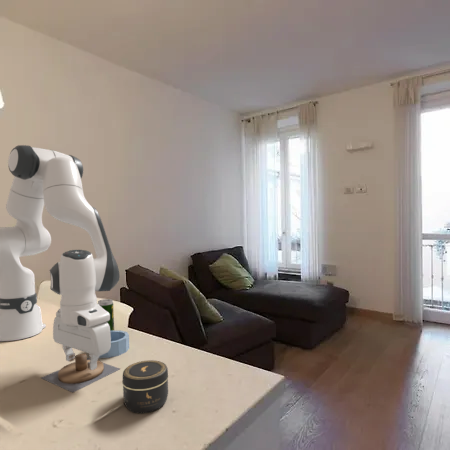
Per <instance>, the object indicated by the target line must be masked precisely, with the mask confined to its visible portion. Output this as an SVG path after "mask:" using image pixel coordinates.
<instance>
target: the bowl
mask: <svg viewBox="0 0 450 450" xmlns="http://www.w3.org/2000/svg"><path fill="white" fill-rule="evenodd" d="M110 334H111V347H110V350H109V351H108V352H107V353H105V354H103V355H101V356H99V358H98V359H102V358H103V359H105V358H106V359H107V358H114V357H118V356H121V355H123V354H125V353H127V352H128V351H129V349H130V334H129V332H128V331H124V330H114V331H110Z"/></svg>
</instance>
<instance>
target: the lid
mask: <svg viewBox="0 0 450 450" xmlns="http://www.w3.org/2000/svg"><path fill="white" fill-rule="evenodd" d="M87 354H88V353H85V352H82V353H78V354H75V360H74V362H71V363H69V364H66V365H64V366H63V367H61V368H60V369H59V372H58V379H59V381H61V382H63V383H68V384H74V383H82V382H86V381H89V380H92V379H94V378H96V377H98V376H99V375H101V374H102V372H103V371H104V365H103V363H104V362H102V361H100V360H99V359H98V360H97V368H96V369H94V370H91V369H88V365H87V362H90V360H87V358H88V356H87Z"/></svg>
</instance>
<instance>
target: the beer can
mask: <svg viewBox="0 0 450 450" xmlns="http://www.w3.org/2000/svg"><path fill="white" fill-rule="evenodd" d="M97 304H99V305H100V306H101V307H102V308H103V309H104V310H106V311H107V312H108V313H109V314H110V320H109V321H107V323H108V324H109V326H110V331H115V316H114V315H115V314H114V313H115V311H114V301H113V298H112V299H111V298H104V299H100V300H97Z"/></svg>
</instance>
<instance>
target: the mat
mask: <svg viewBox="0 0 450 450" xmlns="http://www.w3.org/2000/svg"><path fill="white" fill-rule="evenodd" d="M90 359H91V357H87V360H90ZM102 363H103V365H104V371H103V372H102V374H101V375H99V376H98V377H96V378H94V379H92V380H89V381H86V382H82V383H74V384H68V383H63V382H61V381H59V379H58V372H59V370H60V369H59V370H56V371H54V372H51V373H48V374H45V375H43V376H41V377H40V379H42V380H44V381H47V382H49V383H51V384H53V385H55V386H56V387H58V388H59V387H60V388H61V389H64V390H66V391H68V392H70V393H75V392H77V391H79V390H81V389H83V388H85V387H87V386H90V385H91V384H94V383H95V382H97V381H100V380H101V379H103V378H106V377H107V376H109V375H112V374H114V373H116V372H118V371H119V370H120V371H121V368H119V367H116V366H114V365H112V364H108V363H105V362H102Z"/></svg>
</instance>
